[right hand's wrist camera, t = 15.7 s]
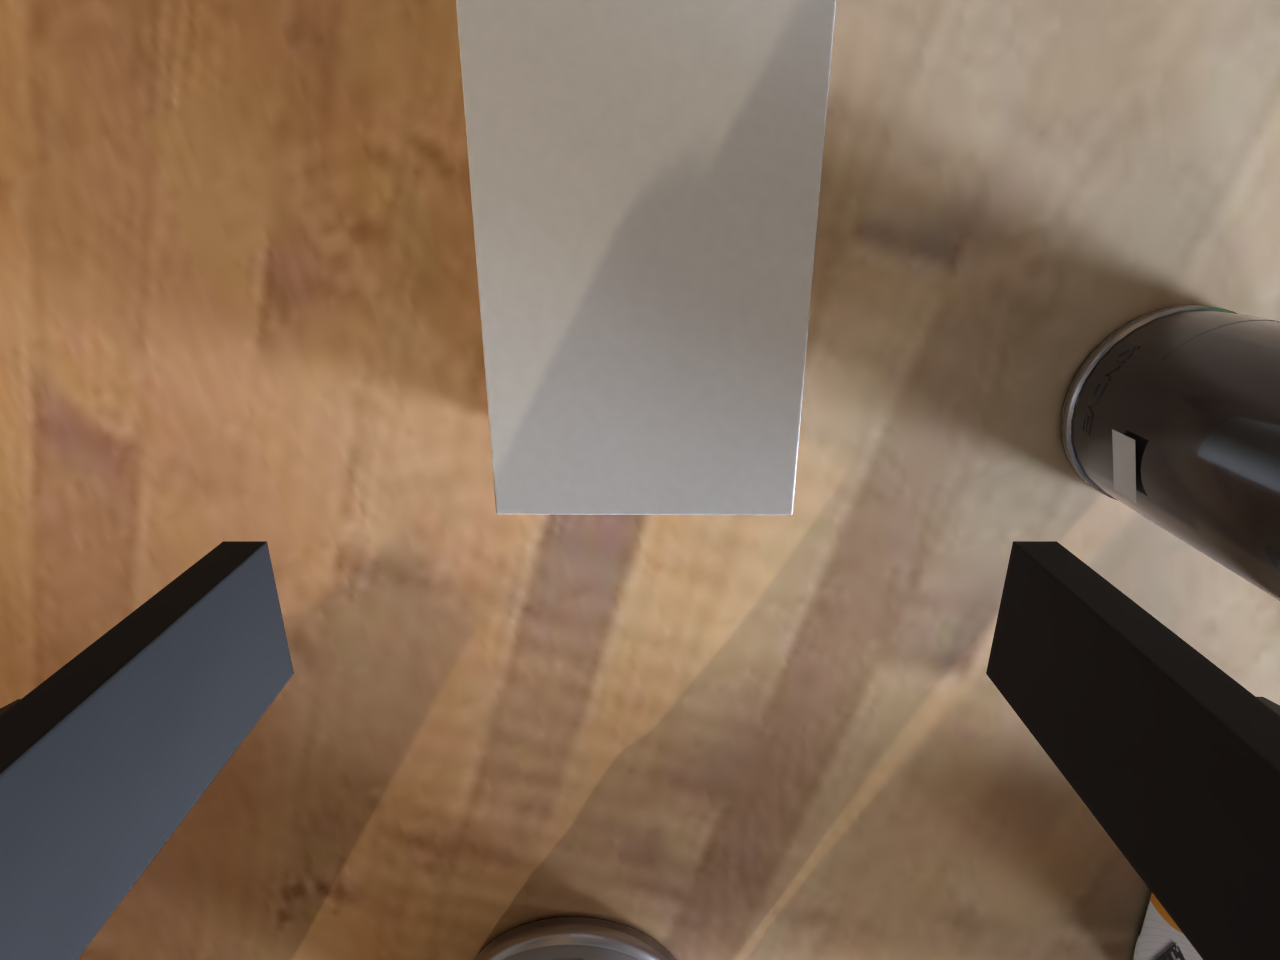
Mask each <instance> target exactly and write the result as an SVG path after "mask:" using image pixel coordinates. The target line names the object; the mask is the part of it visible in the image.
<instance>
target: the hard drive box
mask: <svg viewBox="0 0 1280 960" xmlns="http://www.w3.org/2000/svg"><path fill="white" fill-rule="evenodd" d="M1133 960H1203V959H1202V958H1201V956H1200V955H1199V954H1198V952H1197V951H1196V950H1195V948H1194V947H1193V946H1192V944H1191V943H1190V942H1189V941H1188V939H1187V938H1186V937H1185V935H1184V934H1183V933H1182V931H1181V930H1180V929H1179V927H1178V926H1177V925H1176V923H1175V922H1174V921H1173V919H1172V918H1171V917H1170V915H1169V914H1168V913H1167V911H1166V910H1165V909H1164V907H1163V906H1162V905H1161V904H1160V902H1159V901H1158V900H1157V898H1156V897H1155V896H1154V894H1153V893H1152V894H1151V897H1150V902H1149V905H1148V909H1147V913H1146V916H1145V919H1144V923H1143V927H1142V930H1141V933H1140V935H1139V936H1138V939H1137V943H1136V946H1135V951H1134V958H1133Z"/></svg>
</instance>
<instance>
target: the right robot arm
mask: <svg viewBox="0 0 1280 960" xmlns="http://www.w3.org/2000/svg"><path fill="white" fill-rule="evenodd" d="M293 674H294V672H293V667H292V663H291V658H290V653H289V648H288V643H287V638H286V633H285V628H284V623H283V618H282V614H281V609H280V604H279V599H278V594H277V589H276V584H275V579H274V574H273V570H272V565H271V560H270V555H269V550H268V545H267V542H222V543H221V544H220V545H218V546H217V547H216V548H214V549H213V550H212V551H211V552H209V553H208V554H207V555H205V556H204V557H203V558H202V559H200V560H199V561H198V562H197V563H195V564H194V565H193V566H191V567H190V568H189V569H188V570H186V571H185V572H184V573H182V574H181V575H180V576H179V577H177V578H176V579H175V580H173V581H172V582H171V583H170V584H168V585H167V586H166V587H165V588H163V589H162V590H161V591H159V592H158V593H157V594H156V595H154V596H153V597H152V598H150V599H149V600H148V601H147V602H145V603H144V604H143V605H141V606H140V607H139V608H138V609H136V610H135V611H134V612H132V613H131V614H130V615H129V616H127V617H126V618H125V619H124V620H122V621H121V622H120V623H118V624H117V625H116V626H115V627H113V628H112V629H111V630H109V631H108V632H107V633H106V634H104V635H103V636H102V637H100V638H99V639H98V640H97V641H95V642H94V643H93V644H92V645H90V646H89V647H88V648H86V649H85V650H84V651H83V652H81V653H80V654H79V655H77V656H76V657H75V658H74V659H72V660H71V661H70V662H68V663H67V664H66V665H65V666H63V667H62V668H61V669H60V670H58V671H57V672H56V673H54V674H53V675H52V676H51V677H49V678H48V679H47V680H45V681H44V682H43V683H42V684H40V685H39V686H38V687H36V688H35V689H34V690H33V691H31V692H30V693H29V694H27V695H26V696H25V697H24V698H22V699H18V700H16V701H14V702H12V703H10V704H8V705H6V706H5V707H3V708H1V709H0V960H77V959H78V958H79V956H80V955H81V954H82V952H83V951H84V950H85V948H86V947H87V946H88V944H89V943H90V942H91V941H92V939H93V938H94V937H95V935H96V934H97V933H98V931H99V930H100V929H101V927H102V926H103V925H104V923H105V922H106V921H107V919H108V918H109V917H110V915H111V914H112V913H113V911H114V910H115V909H116V907H117V906H118V905H119V904H120V902H121V901H122V900H123V898H124V897H125V896H126V894H127V893H128V892H129V890H130V889H131V888H132V886H133V885H134V884H135V882H136V881H137V880H138V878H139V877H140V876H141V874H142V873H143V872H144V871H145V869H146V868H147V867H148V865H149V864H150V863H151V861H152V860H153V859H154V857H155V856H156V855H157V853H158V852H159V851H160V849H161V848H162V847H163V845H164V844H165V843H166V841H167V840H168V839H169V838H170V836H171V835H172V834H173V832H174V831H175V830H176V828H177V827H178V826H179V824H180V823H181V822H182V820H183V819H184V818H185V816H186V815H187V814H188V812H189V811H190V810H191V808H192V807H193V806H194V804H195V803H196V802H197V801H198V799H199V798H200V797H201V795H202V794H203V793H204V791H205V790H206V789H207V787H208V786H209V785H210V783H211V782H212V781H213V779H214V778H215V777H216V775H217V774H218V773H219V771H220V770H221V769H222V768H223V766H224V765H225V764H226V762H227V761H228V760H229V758H230V757H231V756H232V754H233V753H234V752H235V750H236V749H237V748H238V746H239V745H240V744H241V742H242V741H243V740H244V738H245V737H246V736H247V734H248V733H249V732H250V731H251V729H252V728H253V727H254V725H255V724H256V723H257V721H258V720H259V719H260V717H261V716H262V715H263V713H264V712H265V711H266V709H267V708H268V707H269V705H270V704H271V703H272V701H273V700H274V699H275V698H276V696H277V695H278V694H279V692H280V691H281V690H282V688H283V687H284V686H285V684H286V683H287V682H288V680H289V679H290V678H291V676H292V675H293ZM986 674H987V675H988V676H989V678H990V679H991V680H992V682H993V683H994V684H995V686H996V687H997V688H998V690H999V691H1000V692H1001V694H1002V695H1003V696H1004V698H1005V699H1006V700H1007V701H1008V703H1009V704H1010V705H1011V707H1012V708H1013V709H1014V711H1015V712H1016V713H1017V715H1018V716H1019V717H1020V719H1021V720H1022V721H1023V723H1024V724H1025V725H1026V727H1027V728H1028V729H1029V731H1030V732H1031V733H1032V734H1033V736H1034V737H1035V738H1036V740H1037V741H1038V742H1039V744H1040V745H1041V746H1042V748H1043V749H1044V750H1045V752H1046V753H1047V754H1048V756H1049V757H1050V758H1051V760H1052V761H1053V762H1054V764H1055V765H1056V766H1057V768H1058V769H1059V770H1060V771H1061V773H1062V774H1063V775H1064V777H1065V778H1066V779H1067V781H1068V782H1069V783H1070V785H1071V786H1072V787H1073V789H1074V790H1075V791H1076V793H1077V794H1078V795H1079V797H1080V798H1081V799H1082V801H1083V802H1084V803H1085V804H1086V806H1087V807H1088V808H1089V810H1090V811H1091V812H1092V814H1093V815H1094V816H1095V818H1096V819H1097V820H1098V822H1099V823H1100V824H1101V826H1102V827H1103V828H1104V830H1105V831H1106V832H1107V834H1108V835H1109V836H1110V838H1111V839H1112V840H1113V841H1114V843H1115V844H1116V845H1117V847H1118V848H1119V849H1120V851H1121V852H1122V853H1123V855H1124V856H1125V857H1126V859H1127V860H1128V861H1129V863H1130V864H1131V865H1132V867H1133V868H1134V869H1135V871H1136V872H1137V873H1138V874H1139V876H1140V877H1141V878H1142V880H1143V881H1144V882H1145V884H1146V885H1147V886H1148V888H1149V889H1150V890H1151V892H1152V893H1153V894H1154V896H1155V897H1156V898H1157V900H1158V901H1159V902H1160V904H1161V905H1162V906H1163V907H1164V909H1165V910H1166V911H1167V913H1168V914H1169V915H1170V917H1171V918H1172V919H1173V921H1174V922H1175V923H1176V925H1177V926H1178V927H1179V929H1180V930H1181V931H1182V933H1183V934H1184V935H1185V937H1186V938H1187V939H1188V941H1189V942H1190V943H1191V944H1192V946H1193V947H1194V948H1195V950H1196V951H1197V952H1198V954H1199V955H1200V956H1201V958H1202V959H1203V960H1280V706H1279V705H1277V704H1276V703H1274V702H1272V701H1270V700H1268V699H1266V698H1264V697H1255V696H1254V695H1253V694H1251V693H1250V692H1249V691H1247V690H1246V689H1245V688H1244V687H1242V686H1241V685H1240V684H1238V683H1237V682H1236V681H1235V680H1233V679H1232V678H1231V677H1229V676H1228V675H1227V674H1226V673H1224V672H1223V671H1222V670H1220V669H1219V668H1218V667H1217V666H1215V665H1214V664H1213V663H1212V662H1210V661H1209V660H1208V659H1206V658H1205V657H1204V656H1203V655H1201V654H1200V653H1199V652H1197V651H1196V650H1195V649H1194V648H1192V647H1191V646H1190V645H1188V644H1187V643H1186V642H1185V641H1183V640H1182V639H1181V638H1180V637H1178V636H1177V635H1176V634H1174V633H1173V632H1172V631H1171V630H1169V629H1168V628H1167V627H1165V626H1164V625H1163V624H1162V623H1160V622H1159V621H1158V620H1156V619H1155V618H1154V617H1153V616H1151V615H1150V614H1149V613H1147V612H1146V611H1145V610H1144V609H1142V608H1141V607H1140V606H1139V605H1137V604H1136V603H1135V602H1133V601H1132V600H1131V599H1130V598H1128V597H1127V596H1126V595H1124V594H1123V593H1122V592H1121V591H1119V590H1118V589H1117V588H1115V587H1114V586H1113V585H1112V584H1110V583H1109V582H1108V581H1107V580H1105V579H1104V578H1103V577H1101V576H1100V575H1099V574H1098V573H1096V572H1095V571H1094V570H1092V569H1091V568H1090V567H1089V566H1087V565H1086V564H1085V563H1083V562H1082V561H1081V560H1080V559H1078V558H1077V557H1076V556H1075V555H1073V554H1072V553H1071V552H1069V551H1068V550H1067V549H1066V548H1064V547H1063V546H1062V545H1060V544H1059V543H1058V542H1013V545H1012V550H1011V555H1010V560H1009V565H1008V569H1007V574H1006V579H1005V584H1004V589H1003V594H1002V599H1001V604H1000V609H999V614H998V618H997V623H996V628H995V633H994V638H993V643H992V648H991V653H990V658H989V663H988V667H987V672H986ZM475 960H676V959H675V958H674V957H673V955H672V954H671V953H670V952H669V951H668V950H667V949H666V948H665V947H663V946H662V945H661V944H659V943H658V942H657V941H655V940H654V939H652V938H651V937H649V936H647V935H645V934H643V933H642V932H640V931H637V930H635V929H633V928H630V927H628V926H625V925H622V924H619V923H615V922H611V921H606V920H601V919H594V918H585V917H561V918H551V919H545V920H540V921H536V922H532V923H528V924H525V925H522V926H519V927H517V928H514V929H512V930H510V931H508V932H506V933H504V934H502V935H501V936H499V937H498V938H496V939H495V940H493V941H492V942H491V943H489V944H488V945H487V946H486V947H485V948H484V949H483V950H482V951H481V952H480V953H479V954H478V956H477V957H476V958H475Z"/></svg>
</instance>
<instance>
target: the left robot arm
mask: <svg viewBox="0 0 1280 960" xmlns="http://www.w3.org/2000/svg"><path fill="white" fill-rule="evenodd" d="M1061 436H1062V443H1063V447H1064V451H1065V453H1066V456H1067V459H1068V461H1069V462H1070V464H1071V466H1072V467H1073V469H1074V470H1075V472H1076V473H1077V474H1078V475H1079V476H1080V477H1081V479H1083V480H1084V481H1085V482H1086V483H1087V484H1089V485H1090V486H1092V487H1093V488H1095V489H1096V490H1098V491H1099V492H1101V493H1103V494H1105V495H1107V496H1109V497H1111V498H1113V499H1116V500H1119V501H1120V502H1122V503H1123V504H1125V505H1127V506H1128V507H1130V508H1131V509H1133V510H1135V511H1136V512H1138V513H1139V514H1141V515H1142V516H1144V517H1145V518H1147V519H1148V520H1150V521H1151V522H1153V523H1155V524H1156V525H1158V526H1160V527H1161V528H1163V529H1164V530H1166V531H1168V532H1169V533H1171V534H1173V535H1174V536H1176V537H1177V538H1179V539H1181V540H1182V541H1184V542H1185V543H1187V544H1189V545H1190V546H1192V547H1194V548H1195V549H1197V550H1198V551H1200V552H1202V553H1203V554H1205V555H1207V556H1208V557H1210V558H1211V559H1213V560H1215V561H1216V562H1218V563H1220V564H1221V565H1223V566H1224V567H1226V568H1228V569H1229V570H1231V571H1232V572H1234V573H1236V574H1237V575H1239V576H1241V577H1242V578H1244V579H1245V580H1247V581H1249V582H1250V583H1252V584H1254V585H1255V586H1257V587H1258V588H1260V589H1262V590H1263V591H1265V592H1267V593H1268V594H1270V595H1271V596H1273V597H1275V598H1276V599H1278V600H1279V601H1280V321H1274V320H1268V319H1263V318H1257V317H1252V316H1246V315H1240V314H1237V313H1235V312H1232V311H1229V310H1225V309H1221V308H1215V307H1209V306H1203V305H1180V306H1173V307H1168V308H1163V309H1160V310H1157V311H1153V312H1150V313H1148V314H1146V315H1143V316H1141V317H1139V318H1137V319H1135V320H1133V321H1131V322H1129V323H1127V324H1126V325H1124V326H1123V327H1121V328H1119V329H1118V330H1117V331H1115V332H1114V333H1113V334H1111V335H1110V336H1109V337H1108V338H1106V339H1105V340H1104V341H1103V342H1102V343H1101V344H1100V345H1099V346H1098V347H1097V348H1096V349H1095V350H1094V351H1093V352H1092V353H1091V354H1090V356H1089V357H1088V358H1087V359H1086V361H1085V362H1084V363H1083V365H1082V366H1081V367H1080V369H1079V371H1078V372H1077V374H1076V376H1075V377H1074V379H1073V381H1072V383H1071V385H1070V388H1069V390H1068V393H1067V395H1066V399H1065V402H1064V406H1063V411H1062V418H1061Z"/></svg>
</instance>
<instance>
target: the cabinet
mask: <svg viewBox="0 0 1280 960" xmlns="http://www.w3.org/2000/svg"><path fill="white" fill-rule="evenodd" d="M835 9H836V0H456V10H457V22H458V35H459V48H460V60H461V73H462V86H463V98H464V111H465V124H466V136H467V149H468V162H469V174H470V187H471V200H472V213H473V225H474V238H475V251H476V263H477V276H478V289H479V301H480V314H481V327H482V339H483V352H484V365H485V377H486V390H487V403H488V416H489V428H490V441H491V454H492V466H493V479H494V492H495V504H496V513H497V514H635V515H792V513H793V502H794V490H795V478H796V467H797V455H798V443H799V431H800V420H801V408H802V396H803V384H804V373H805V361H806V349H807V338H808V326H809V314H810V302H811V291H812V279H813V267H814V255H815V244H816V232H817V220H818V208H819V197H820V185H821V173H822V161H823V150H824V138H825V126H826V115H827V103H828V91H829V79H830V68H831V56H832V44H833V32H834V21H835Z"/></svg>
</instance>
